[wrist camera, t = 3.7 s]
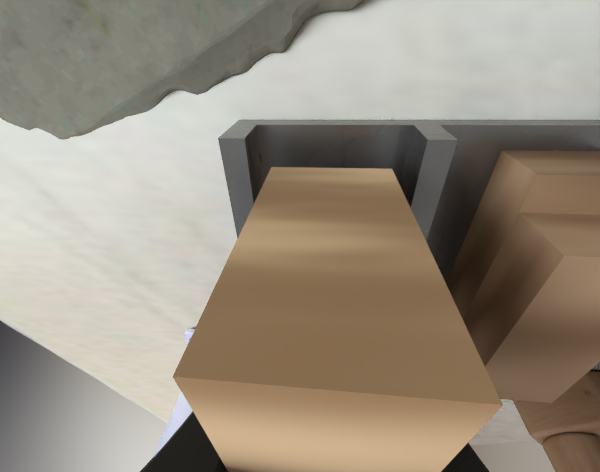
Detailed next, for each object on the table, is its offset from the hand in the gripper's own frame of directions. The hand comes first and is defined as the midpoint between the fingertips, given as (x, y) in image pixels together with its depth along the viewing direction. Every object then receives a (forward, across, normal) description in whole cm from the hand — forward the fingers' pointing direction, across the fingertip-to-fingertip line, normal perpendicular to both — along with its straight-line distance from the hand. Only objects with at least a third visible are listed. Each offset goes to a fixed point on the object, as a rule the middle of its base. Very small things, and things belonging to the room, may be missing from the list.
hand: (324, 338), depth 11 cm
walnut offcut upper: (+3, -9, 0) cm, 9 cm away
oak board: (+3, 0, 0) cm, 3 cm away
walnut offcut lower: (+5, -9, 0) cm, 10 cm away
